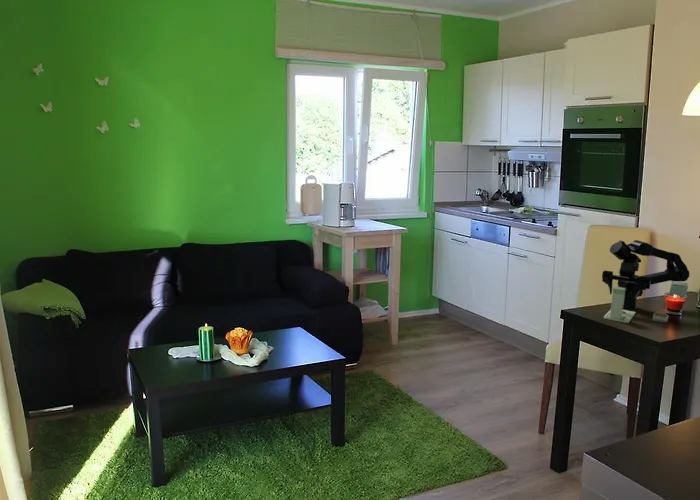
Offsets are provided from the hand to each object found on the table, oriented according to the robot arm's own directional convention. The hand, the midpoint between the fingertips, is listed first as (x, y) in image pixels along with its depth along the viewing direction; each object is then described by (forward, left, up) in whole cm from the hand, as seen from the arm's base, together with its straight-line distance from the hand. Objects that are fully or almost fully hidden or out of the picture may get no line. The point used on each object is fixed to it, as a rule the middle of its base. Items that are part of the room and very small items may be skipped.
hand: (622, 296), depth 257 cm
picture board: (+2, 0, -8) cm, 8 cm away
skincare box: (-25, +18, -8) cm, 32 cm away
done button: (-3, +15, -6) cm, 16 cm away
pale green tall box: (+7, -1, -7) cm, 10 cm away
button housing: (-3, +15, -8) cm, 17 cm away
